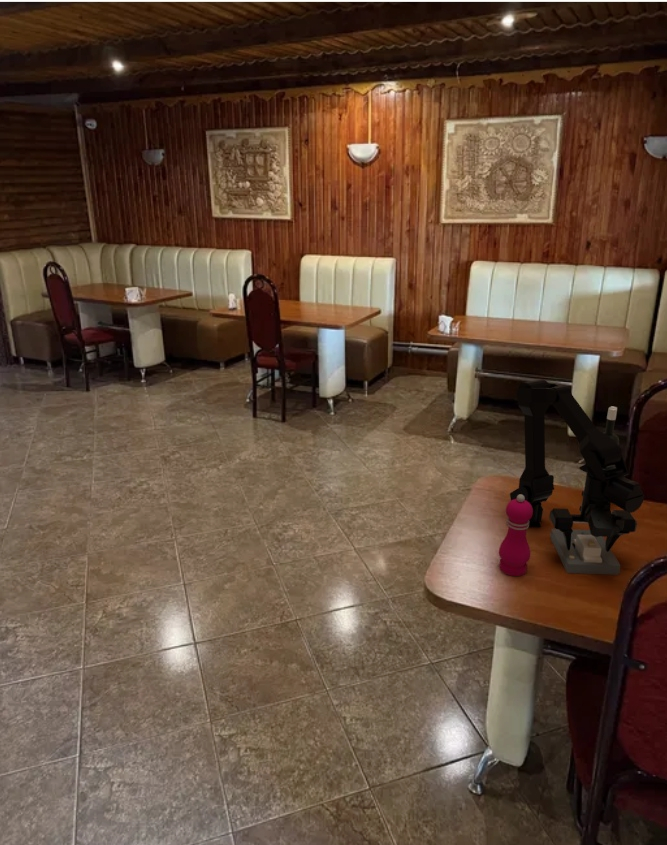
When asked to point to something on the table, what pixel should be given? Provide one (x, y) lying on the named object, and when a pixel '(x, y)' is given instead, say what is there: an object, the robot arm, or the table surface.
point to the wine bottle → (611, 428)
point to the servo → (588, 548)
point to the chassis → (579, 566)
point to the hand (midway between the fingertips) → (587, 550)
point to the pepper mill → (516, 538)
